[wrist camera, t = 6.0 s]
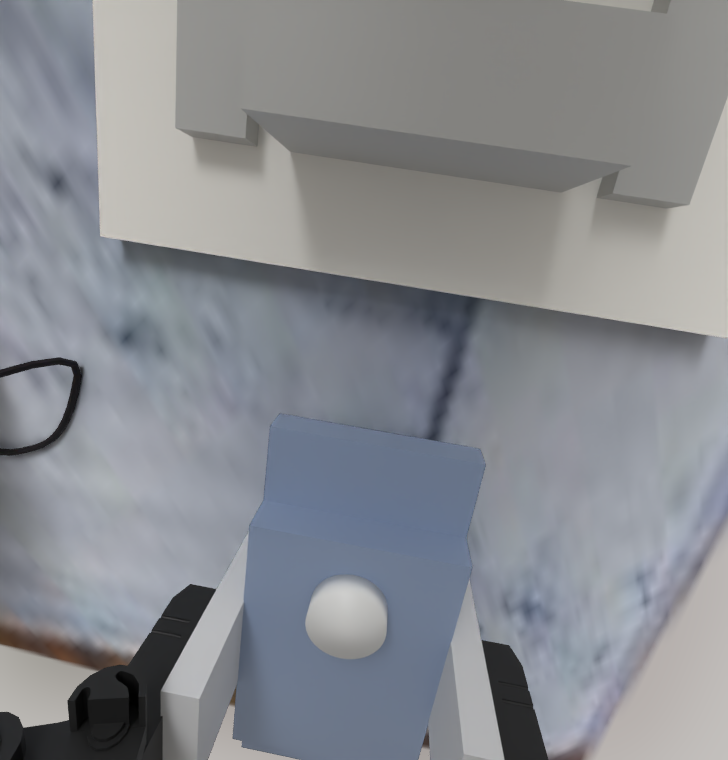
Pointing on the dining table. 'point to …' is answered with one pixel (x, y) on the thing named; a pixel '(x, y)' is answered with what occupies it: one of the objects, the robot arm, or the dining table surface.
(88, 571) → the dining table surface
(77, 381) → the multimeter
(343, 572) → the block
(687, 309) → the slot plate
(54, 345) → the dining table surface
